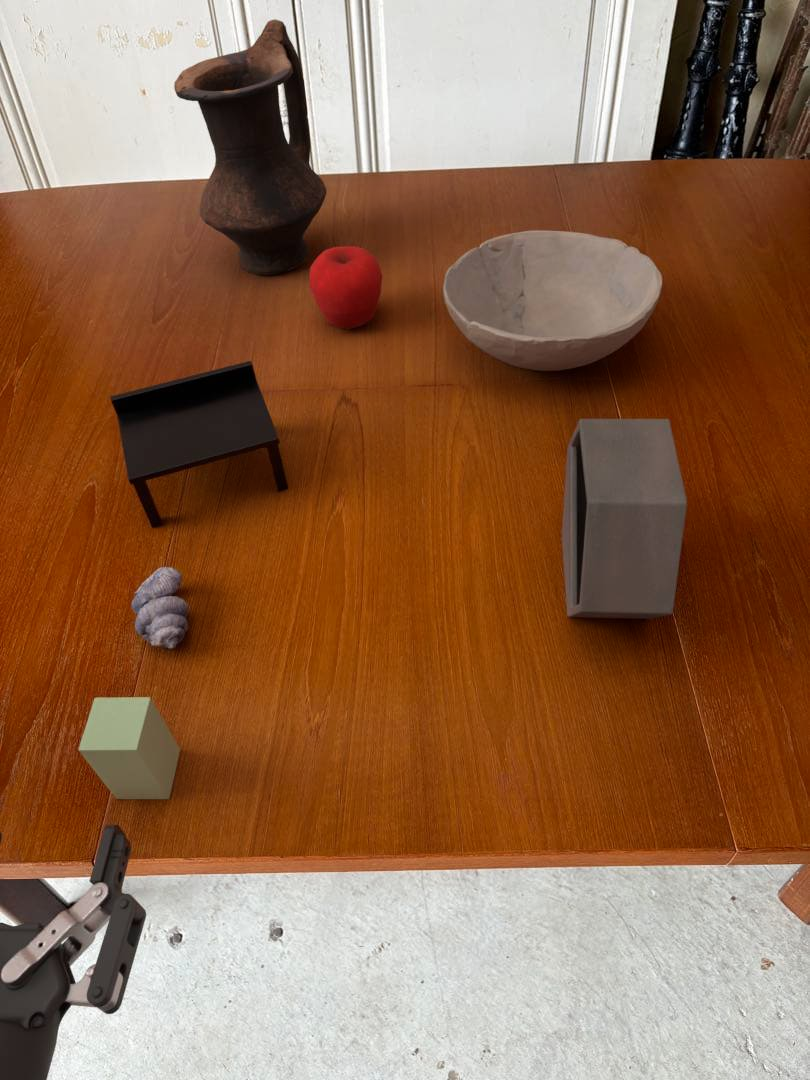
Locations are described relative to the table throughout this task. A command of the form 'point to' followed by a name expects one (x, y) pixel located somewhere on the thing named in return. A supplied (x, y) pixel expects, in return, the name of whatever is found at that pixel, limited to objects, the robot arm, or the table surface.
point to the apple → (346, 285)
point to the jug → (257, 151)
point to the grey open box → (622, 519)
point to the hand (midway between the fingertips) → (53, 828)
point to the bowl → (551, 297)
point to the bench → (194, 427)
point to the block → (130, 748)
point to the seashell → (161, 609)
